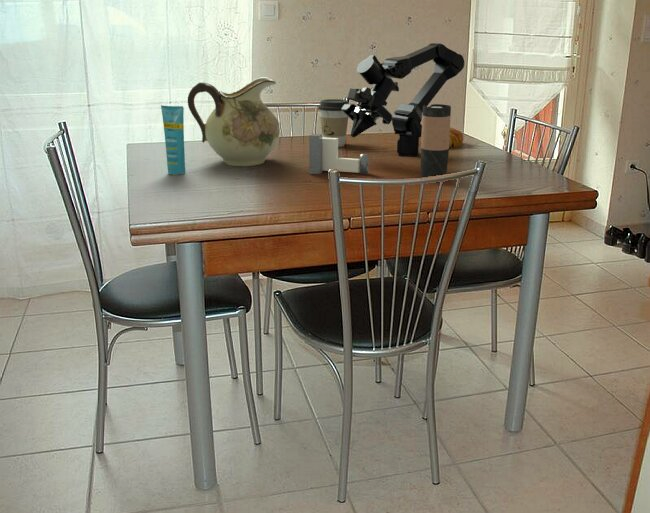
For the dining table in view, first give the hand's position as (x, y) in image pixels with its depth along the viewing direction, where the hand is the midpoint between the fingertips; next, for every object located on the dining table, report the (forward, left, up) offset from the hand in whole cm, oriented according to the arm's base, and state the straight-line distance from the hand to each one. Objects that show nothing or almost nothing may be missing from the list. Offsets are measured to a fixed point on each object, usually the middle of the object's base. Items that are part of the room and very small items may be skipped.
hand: (352, 136), depth 217 cm
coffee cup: (+8, -31, -9) cm, 33 cm away
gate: (+4, +11, -8) cm, 14 cm away
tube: (+50, +17, -9) cm, 53 cm away
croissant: (-29, -34, -9) cm, 46 cm away
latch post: (+10, +13, -8) cm, 18 cm away
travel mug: (-23, +18, -9) cm, 31 cm away
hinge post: (-4, +12, -8) cm, 16 cm away
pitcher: (+34, +1, -9) cm, 35 cm away
